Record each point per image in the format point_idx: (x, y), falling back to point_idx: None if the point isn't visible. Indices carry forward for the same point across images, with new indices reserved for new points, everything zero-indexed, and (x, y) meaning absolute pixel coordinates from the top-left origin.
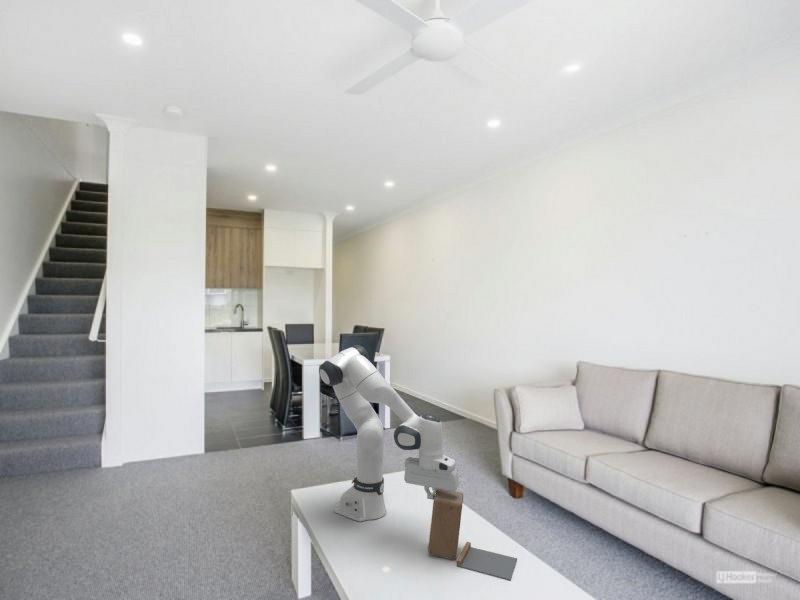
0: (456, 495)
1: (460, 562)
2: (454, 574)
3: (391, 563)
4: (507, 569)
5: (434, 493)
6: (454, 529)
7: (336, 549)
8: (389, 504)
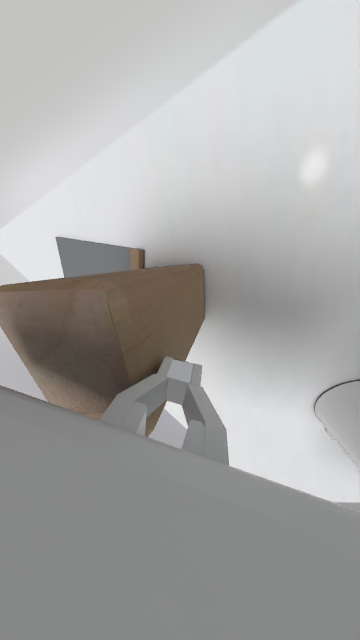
0: (41, 375)
1: (131, 248)
2: (140, 218)
3: (296, 203)
4: (69, 266)
5: (143, 384)
6: (112, 272)
7: None
8: (306, 429)
